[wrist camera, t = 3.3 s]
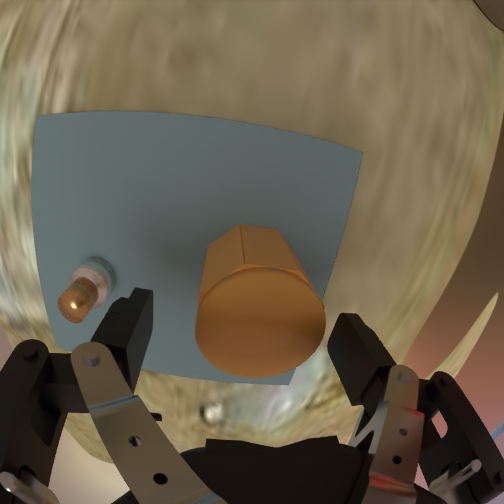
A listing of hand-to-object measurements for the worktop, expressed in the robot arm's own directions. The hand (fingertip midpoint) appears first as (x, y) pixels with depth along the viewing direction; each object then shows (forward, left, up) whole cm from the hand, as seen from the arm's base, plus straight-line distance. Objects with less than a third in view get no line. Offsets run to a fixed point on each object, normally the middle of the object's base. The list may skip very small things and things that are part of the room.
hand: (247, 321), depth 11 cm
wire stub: (+9, +2, -5) cm, 11 cm away
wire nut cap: (-1, 0, -5) cm, 5 cm away
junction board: (+4, +1, -7) cm, 8 cm away
